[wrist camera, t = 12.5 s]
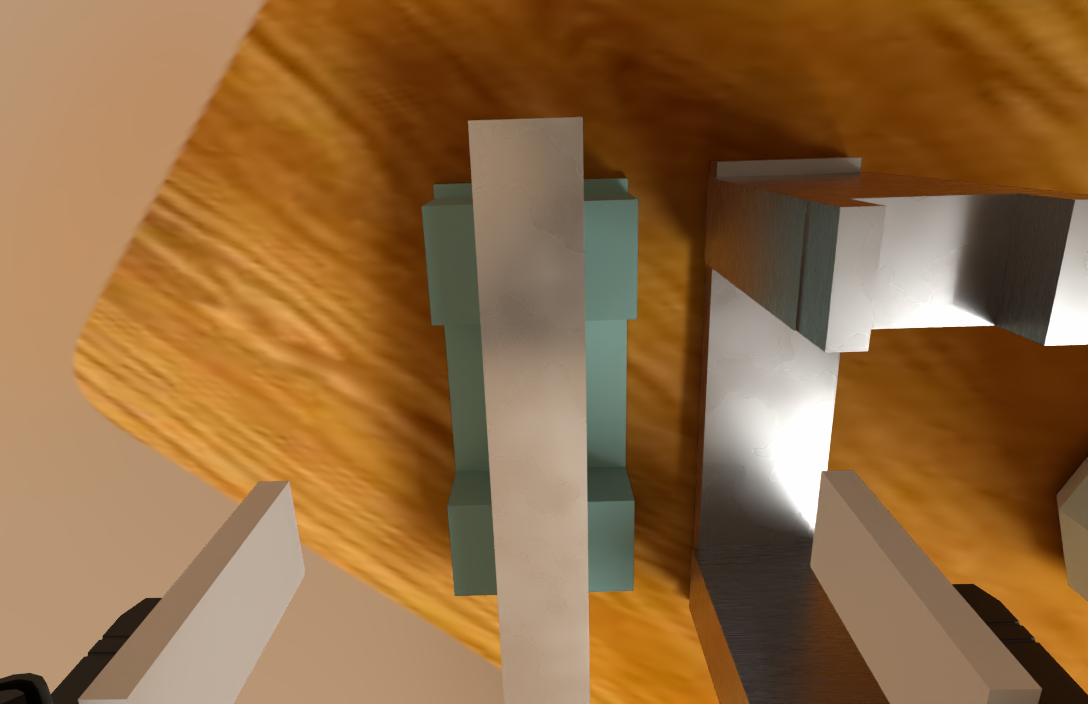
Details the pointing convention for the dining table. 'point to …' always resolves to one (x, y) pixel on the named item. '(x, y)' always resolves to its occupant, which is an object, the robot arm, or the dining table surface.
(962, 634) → the robot arm
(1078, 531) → the water bottle
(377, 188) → the dining table surface
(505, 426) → the rail
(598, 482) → the rest
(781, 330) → the stand
